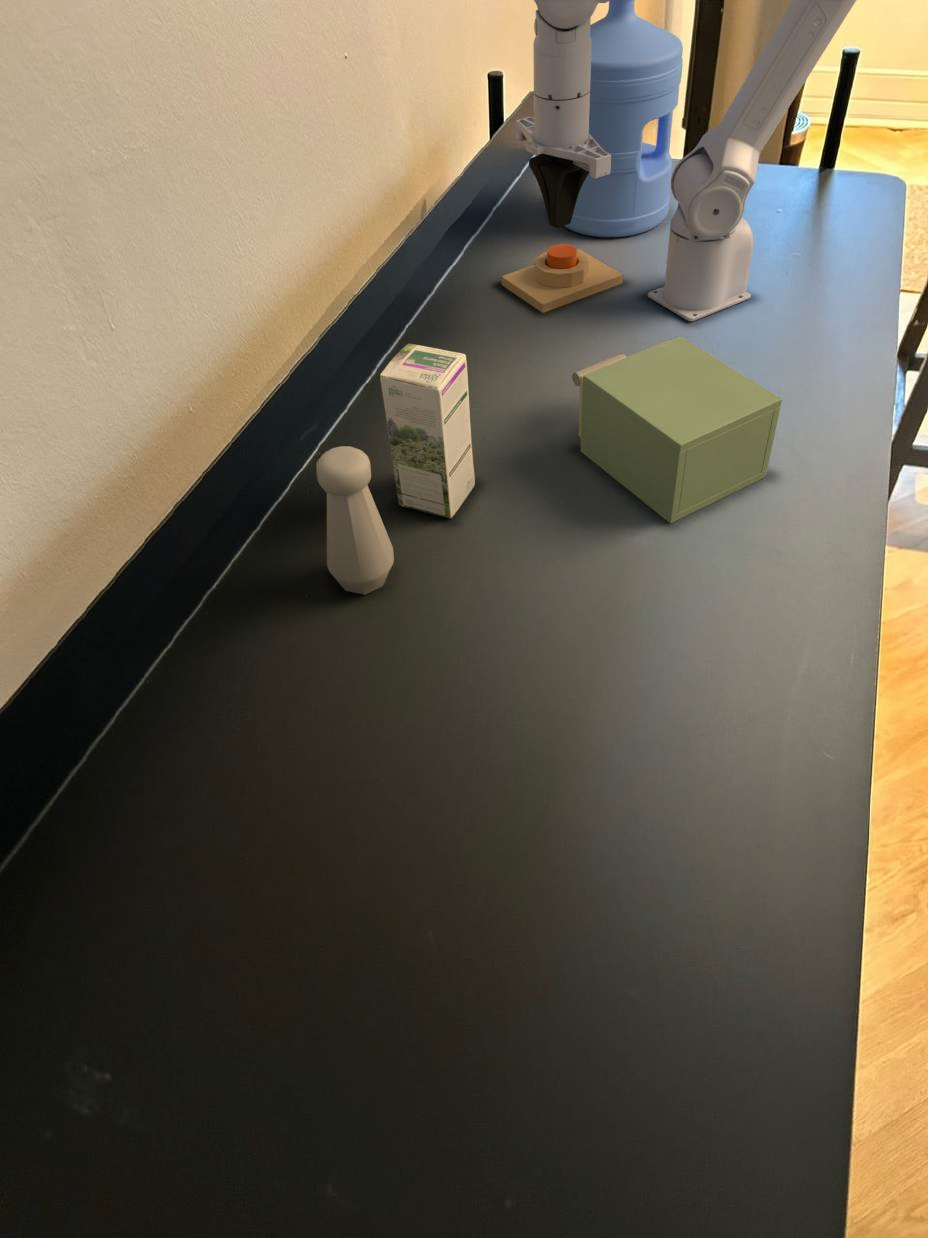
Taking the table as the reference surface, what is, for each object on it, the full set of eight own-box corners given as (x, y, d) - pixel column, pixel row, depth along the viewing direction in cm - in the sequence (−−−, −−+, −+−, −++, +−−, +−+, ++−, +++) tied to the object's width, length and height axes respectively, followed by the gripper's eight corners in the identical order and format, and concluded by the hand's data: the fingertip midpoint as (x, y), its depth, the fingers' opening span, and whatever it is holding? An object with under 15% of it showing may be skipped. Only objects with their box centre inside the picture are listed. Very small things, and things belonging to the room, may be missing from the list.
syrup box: (477, 485, 91) (468, 349, 81) (450, 522, 88) (438, 385, 77) (424, 472, 93) (409, 338, 83) (396, 508, 90) (376, 373, 79)
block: (578, 257, 123) (579, 234, 121) (622, 283, 117) (624, 260, 115) (501, 285, 119) (500, 261, 117) (542, 313, 113) (542, 289, 111)
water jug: (558, 243, 126) (561, -2, 106) (550, 195, 137) (551, -36, 117) (677, 236, 125) (702, -13, 105) (659, 188, 136) (679, -45, 116)
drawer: (553, 416, 97) (554, 356, 92) (633, 382, 100) (638, 323, 96) (659, 500, 87) (666, 438, 82) (745, 459, 90) (757, 397, 85)
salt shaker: (401, 556, 85) (384, 435, 75) (392, 602, 81) (372, 480, 72) (337, 555, 85) (312, 434, 76) (324, 600, 81) (297, 479, 72)
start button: (565, 254, 118) (565, 241, 117) (582, 265, 116) (583, 251, 115) (541, 263, 117) (541, 249, 116) (558, 274, 115) (558, 260, 113)
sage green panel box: (580, 451, 94) (582, 374, 88) (671, 411, 98) (679, 335, 92) (670, 523, 86) (680, 445, 80) (766, 476, 90) (782, 398, 83)
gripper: (490, 82, 100) (494, 211, 109) (572, 119, 91) (569, 256, 101) (545, 67, 102) (545, 195, 112) (630, 102, 93) (622, 238, 103)
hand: (560, 223), depth 106 cm, fingers closed
